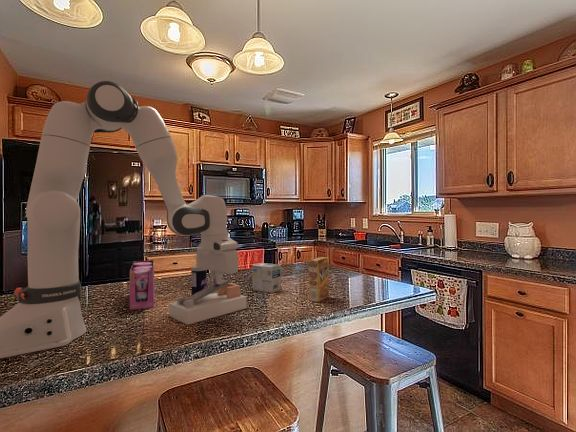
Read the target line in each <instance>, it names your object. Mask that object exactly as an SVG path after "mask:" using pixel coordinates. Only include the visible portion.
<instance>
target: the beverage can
mask: <svg viewBox="0 0 576 432" xmlns="http://www.w3.org/2000/svg"><path fill="white" fill-rule="evenodd" d="M190 276H191V277H190V279H191V283H190V284H191V289H190V290H191V296H192V295H194V294H196V293H197V292H199V291H201V290H203V289H205V288H207V287H208V286H207V285H208V284H207V281H208V280H207V279H208V277H207V270H206V269H202V268H198V267H197V265H193V266H192V268H191V271H190Z"/></svg>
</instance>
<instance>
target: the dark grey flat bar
mask: <svg viewBox="0 0 576 432" xmlns="http://www.w3.org/2000/svg"><path fill="white" fill-rule="evenodd" d="M228 283H230V282H229V280H228V279H223V278H222V283H221V284H219V285H218V284H214V283H212V284H210V285H208V286H207V288H205V289H203V290H201V291H199V292H197V293H196V294H194V295H192V294H191V295H190V296H188V297H186V298H185V300H183V301H181V302H180V304H182V305H185V306H186V301H188V300H194V302H196V301H198V300H200V299H202V298H203V297H205V296H207V295H209V294H213V293H215V292H217V290H218V289H220V288H221V287H223V286H225V285H227V284H228Z"/></svg>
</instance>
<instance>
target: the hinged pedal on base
mask: <svg viewBox="0 0 576 432" xmlns="http://www.w3.org/2000/svg"><path fill="white" fill-rule="evenodd" d="M185 299H186V298H185V296H177V297H176V301H172V302H169V303H168V316H169V317H171V318H173V319H175V320H177V321H179V322H182V323H183V324H186V325H191V324H195V323H198V322H199V323H200V322H202V321H207V320H209V319H212V318H217V317H220V316H223V315H228V314H230V313H234V312H235V313H236V312H238V311H241V310H244V309H247V296H246V295H242V294H241V284H240V285H239V284H236V283H233V282H229V283H228V284H227V285H225V286H223V287H221V288H220V289H218V290H216V292H212V293H211V294H209V295H207V296H205V297H203V298H202V299H200V300H198V301H196V302H194V300H188V301H186V306H185V305H182V304H180V302H181V301H183V300H185Z"/></svg>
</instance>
